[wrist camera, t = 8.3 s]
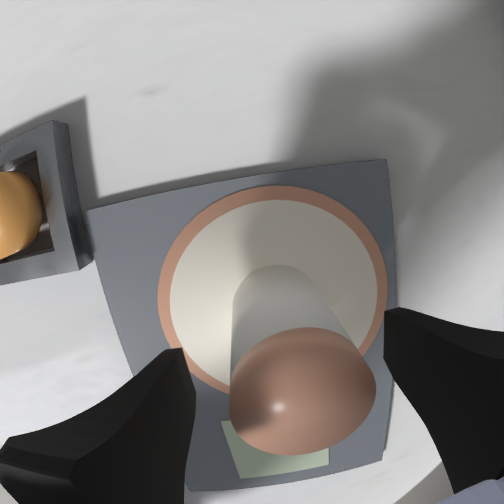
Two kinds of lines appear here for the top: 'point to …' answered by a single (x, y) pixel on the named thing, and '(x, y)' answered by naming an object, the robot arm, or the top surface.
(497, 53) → the top surface
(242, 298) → the white and brown cylinder
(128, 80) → the top surface
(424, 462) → the top surface
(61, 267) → the button housing
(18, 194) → the button
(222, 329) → the picture board
